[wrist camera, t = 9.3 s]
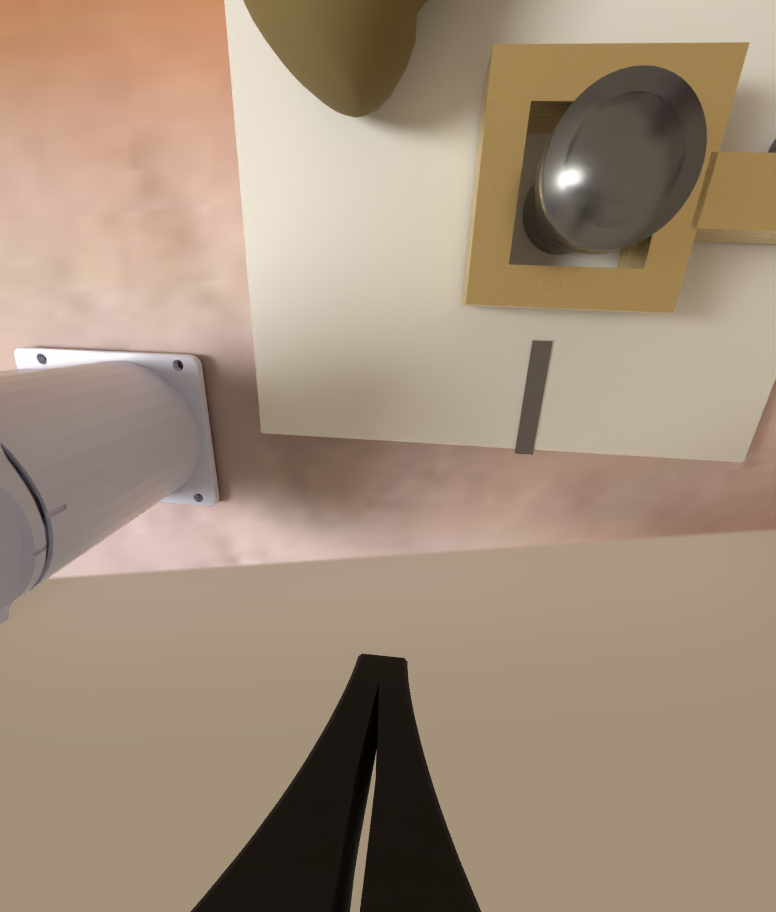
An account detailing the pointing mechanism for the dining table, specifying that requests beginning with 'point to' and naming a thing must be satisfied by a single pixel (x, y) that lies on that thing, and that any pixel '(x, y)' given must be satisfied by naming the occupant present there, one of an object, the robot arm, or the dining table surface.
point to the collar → (644, 263)
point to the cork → (341, 46)
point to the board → (444, 251)
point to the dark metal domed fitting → (611, 181)
